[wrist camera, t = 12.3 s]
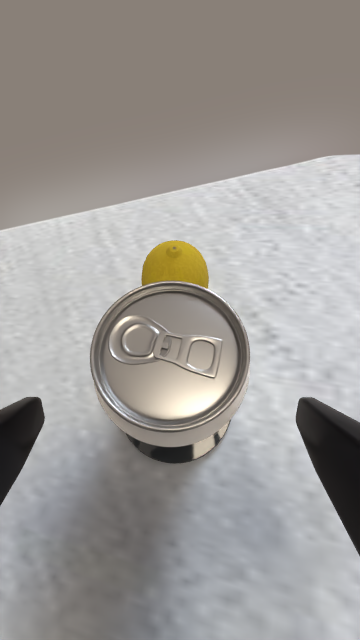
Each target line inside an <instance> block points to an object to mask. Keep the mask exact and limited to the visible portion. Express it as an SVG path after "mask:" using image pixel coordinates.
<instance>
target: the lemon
mask: <svg viewBox="0 0 360 640" xmlns="http://www.w3.org/2000/svg"><path fill="white" fill-rule="evenodd" d="M160 281H183V282H189V283H193V284H196V285H199V286H202V287H204V288H206V289H208V281H209V276H208V271H207V266H206V263H205V260H204V258H203V257H202V255H201V253H200V252H199V251H198V250H197V249H196V248H195V247H193V246H192V245H190V244H188V243H186V242H183V241H177V240H176V241H167V242H164V243H161V244H159V245H158V246H156V247H155V248H154V249H153V250H152V251H151V252H150V253H149V254H148V256H147V258H146V260H145V262H144V265H143V270H142V286H144V285H147V284H150V283H154V282H160Z"/></svg>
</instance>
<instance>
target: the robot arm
mask: <svg viewBox="0 0 360 640" xmlns="http://www.w3.org/2000/svg"><path fill="white" fill-rule="evenodd" d="M44 419H45V417H44V412H43V407H42V402H41V399H40V398H38V397H26V398H24V399H22V400H20V401H17V402H15V403H13V404H11V405H9V406H7V407H5V408H3V409H1V410H0V505H1V504H2V502H3V500H4V499H5V497H6V495H7V494H8V492H9V490H10V488H11V487H12V485H13V483H14V482H15V480H16V478H17V477H18V475H19V473H20V471H21V469H22V468H23V466H24V464H25V462H26V460H27V458H28V456H29V453H30V451H31V449H32V447H33V445H34V443H35V441H36V439H37V437H38V434H39V432H40V430H41V428H42V426H43V424H44ZM296 423H297V426H298V429H299V431H300V434H301V436H302V439H303V441H304V444H305V446H306V449H307V451H308V454H309V456H310V459H311V461H312V464H313V466H314V468H315V470H316V472H317V474H318V476H319V478H320V480H321V482H322V484H323V486H324V488H325V490H326V492H327V494H328V496H329V498H330V500H331V502H332V503H333V505H334V507H335V509H336V511H337V513H338V515H339V517H340V519H341V521H342V523H343V525H344V527H345V529H346V531H347V532H348V534H349V536H350V538H351V540H352V542H353V544H354V546H355V548H356V550H357V552H358V554H359V556H360V423H359V422H358V421H356V420H354V419H352V418H350V417H348V416H346V415H344V414H343V413H341V412H339V411H337V410H335V409H333V408H331V407H330V406H328V405H326V404H324V403H322V402H320V401H318V400H317V399H315V398H312V397H302V398H300V399H299V402H298V408H297V413H296Z"/></svg>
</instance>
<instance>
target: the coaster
mask: <svg viewBox="0 0 360 640" xmlns="http://www.w3.org/2000/svg"><path fill="white" fill-rule="evenodd" d="M230 420H231V419H230ZM230 420H229V421H228V423H227V424H226V425H224V426H223V427H222V428H221V429H220V430H219V431H217V432H216V433H214V434H213V435H211V436H209V437H208V438H206V439H204V440H202V441H199V442H197V443H194V444H190V445H186V446H180V447H162V446H156V445H151V444H148V443H145V442H142V441H140V440H137V439H135V438H133V437H132V436H130V435H128V434H127V433H126V435H127V436H128V438H129V440H130V441H131V442H132V443H133V444H134V446H135V447H136V448H138V449H139V450H140V451H141V452H142V453H144V454H145V455H147V456H148V457H151V458H153V459H155V460H158V461H161V462H166V463H184V462H189V461H192V460H195V459H198V458H200V457H202V456H204V455H205V454H207V453H208V452H209V451H211V450H212V449H213V448H214V447H215V446H216V445H217V444H218V443H219V442H220V440H221V439H222V438H223V436H224V434H225V433H226V431H227V428H228V426H229V424H230Z"/></svg>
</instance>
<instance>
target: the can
mask: <svg viewBox="0 0 360 640" xmlns="http://www.w3.org/2000/svg"><path fill="white" fill-rule="evenodd" d="M90 366H91V372H92V377H93V380H94V386H95V390H96V393H97V396H98V399H99V401H100V403H101V405H102V407H103V409H104V411H105V412H106V414H107V415H108V416H109V418H110V419H111V420H112V421H113V422H114V423H115V424H116V425H117V426H118V427H119V428H120V429H121V430H123V431H124V432H125V433H127V434H128V435H130V436H132V437H133V438H135V439H137V440H140V441H142V442H145V443H148V444H151V445H156V446H162V447H180V446H186V445H190V444H194V443H197V442H199V441H202V440H204V439H206V438H208V437H209V436H211V435H213V434H214V433H216V432H217V431H219V430H220V429H221V428H222V427H223V426H224V425H226V424H227V423H228V421H229V420H230V419H231V418H232V417H233V415H234V414H235V413H236V411H237V410H238V408H239V406H240V405H241V403H242V401H243V398H244V396H245V393H246V390H247V387H248V382H249V374H250V348H249V341H248V337H247V334H246V331H245V328H244V326H243V324H242V322H241V320H240V318H239V316H238V315H237V313H236V312H235V311H234V310H233V308H232V307H231V306H230V305H229V304H228V303H227V302H226V301H225V300H224V299H222V298H221V297H220V296H219V295H217V294H216V293H214V292H212V291H210V290H209V289H206V288H204V287H202V286H199V285H196V284H193V283H189V282H183V281H160V282H154V283H150V284H147V285H144V286H141V287H138V288H136V289H134V290H132V291H130V292H129V293H127V294H125V295H124V296H122V297H121V298H120V299H119V300H117V301H116V302H115V303H114V304H113V305H112V306H111V307H110V308H109V309H108V311H107V312H106V313H105V314H104V316H103V317H102V319H101V320H100V322H99V324H98V326H97V328H96V331H95V333H94V336H93V340H92V344H91V350H90Z"/></svg>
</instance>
